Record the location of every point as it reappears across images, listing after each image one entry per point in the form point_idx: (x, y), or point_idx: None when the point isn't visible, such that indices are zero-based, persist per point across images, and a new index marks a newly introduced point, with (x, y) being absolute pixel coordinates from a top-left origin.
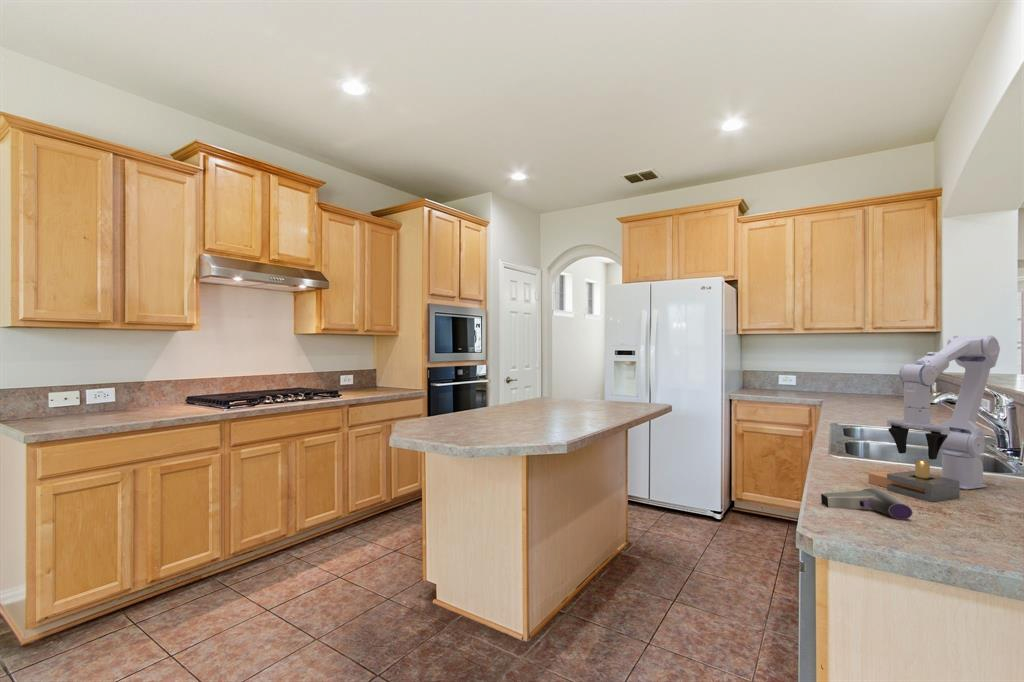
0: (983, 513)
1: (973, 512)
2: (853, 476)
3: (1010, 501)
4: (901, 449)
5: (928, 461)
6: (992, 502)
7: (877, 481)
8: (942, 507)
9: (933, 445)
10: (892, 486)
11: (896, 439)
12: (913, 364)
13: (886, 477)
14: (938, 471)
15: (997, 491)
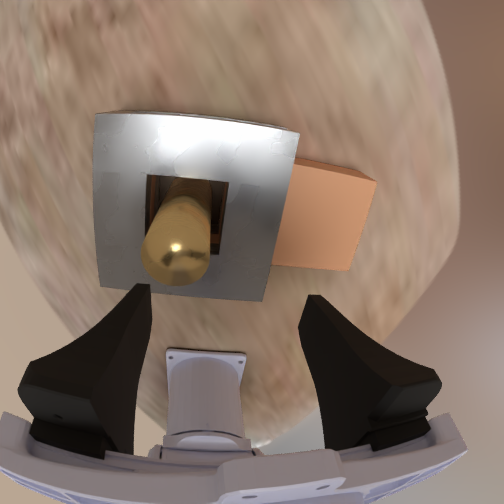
0: (15, 149)
1: (26, 129)
2: (411, 218)
3: (75, 331)
4: (314, 314)
5: (153, 273)
6: (73, 288)
7: (335, 168)
8: (78, 85)
9: (86, 334)
10: (264, 124)
11: (360, 342)
12: None
13: (309, 168)
14: (285, 423)
15: (142, 385)
